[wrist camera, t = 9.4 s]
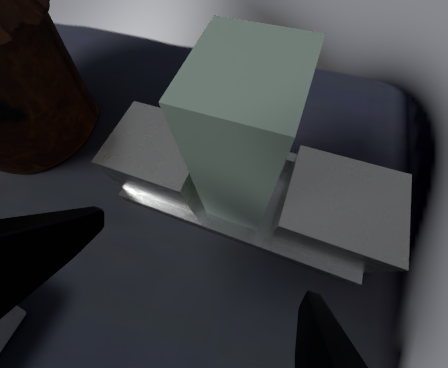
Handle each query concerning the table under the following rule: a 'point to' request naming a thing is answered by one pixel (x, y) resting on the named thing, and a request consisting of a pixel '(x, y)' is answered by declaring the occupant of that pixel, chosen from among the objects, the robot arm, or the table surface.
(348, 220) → the rail
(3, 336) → the charger
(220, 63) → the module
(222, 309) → the table surface
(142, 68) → the table surface
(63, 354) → the table surface
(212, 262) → the table surface
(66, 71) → the brown flower pot
